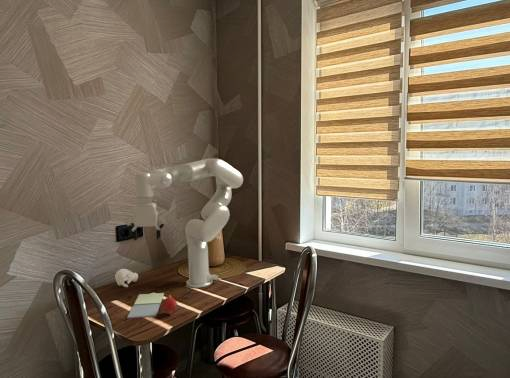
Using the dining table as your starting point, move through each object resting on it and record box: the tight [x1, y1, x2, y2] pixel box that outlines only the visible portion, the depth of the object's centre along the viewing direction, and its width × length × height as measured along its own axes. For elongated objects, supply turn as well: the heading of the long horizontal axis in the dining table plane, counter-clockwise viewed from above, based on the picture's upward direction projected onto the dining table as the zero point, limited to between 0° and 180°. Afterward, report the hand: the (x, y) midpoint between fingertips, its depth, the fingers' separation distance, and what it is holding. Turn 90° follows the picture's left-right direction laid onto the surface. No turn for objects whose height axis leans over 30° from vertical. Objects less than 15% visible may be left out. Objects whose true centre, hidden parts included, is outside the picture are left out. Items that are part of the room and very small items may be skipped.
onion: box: [161, 294, 178, 316], centre depth 157 cm, size 6×6×8 cm
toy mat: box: [126, 304, 161, 319], centre depth 161 cm, size 11×11×1 cm
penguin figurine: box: [114, 268, 139, 288], centre depth 193 cm, size 6×8×12 cm
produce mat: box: [133, 292, 165, 306], centre depth 173 cm, size 11×11×1 cm
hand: (147, 239), depth 174 cm, fingers open, 9 cm apart
